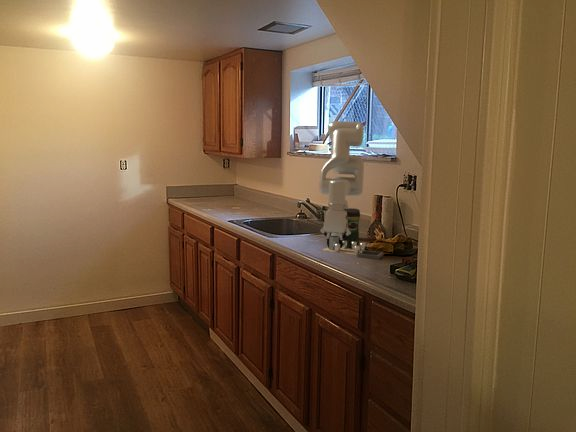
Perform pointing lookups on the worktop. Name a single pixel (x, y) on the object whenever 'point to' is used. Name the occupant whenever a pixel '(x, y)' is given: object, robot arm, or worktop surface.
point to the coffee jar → (352, 226)
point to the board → (341, 250)
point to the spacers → (354, 247)
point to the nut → (333, 242)
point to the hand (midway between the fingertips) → (334, 247)
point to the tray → (370, 254)
